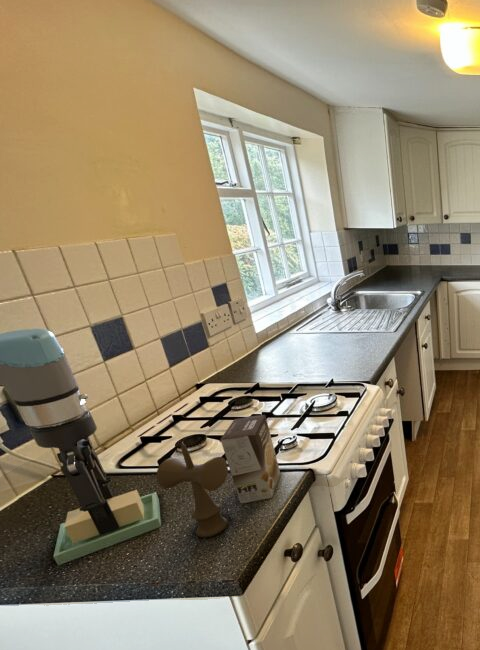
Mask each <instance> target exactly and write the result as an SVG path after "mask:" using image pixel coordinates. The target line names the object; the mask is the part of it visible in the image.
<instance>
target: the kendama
mask: <svg viewBox="0 0 480 650" xmlns="http://www.w3.org/2000/svg"><path fill="white" fill-rule="evenodd" d="M180 449H181V453H182V457H183V459H181V458H180V457H179V456H171V457H168V458H167V459H164V460H163V461H162V462H161V463H160V464H159V466H158V468H157V470H156V481H157V483H158V485H159V486H160V487H161V488H163V489H171V488H174V487H176V486H177V485H179V484H181V483H187V482H190V483H191V487H192V488H191V489H192V491H193V492H192V493H193V497H194V511H193V512H192V514H191V517H192V519H193V520H195V521H196V522H197V525H198V526H197V528H196V531H195V535H196V536H197V537H198V538H211V537H214V536H216V535H219V534H220V533H222V532H223V531H224V530H225V529H226V528H227V526H228V525H229V520H228V519H227V518H226V517H225V516H222V514H221V512H220V511H221V509H222V505H221V504H220V503H216V502H214V500H213V499H212V497H211V496H210V495H209V493H208V491H209V492H212V491H216V490H218V489H219V488H221V487H222V485H223V484H224V483H225V482H226V480H227V477H228V473H229V466H228V462H227V460H226V459H225V458H224V457H222V456H214V457H212V458H211V459H209V460H206V461H205V462H204V463H200V464H198V463H197V464H195V463H194V462H193V460H192V457H191V454H190V452H189V450H188V448H187V445H186V444H185V443H183V442H182V443H180Z"/></svg>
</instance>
